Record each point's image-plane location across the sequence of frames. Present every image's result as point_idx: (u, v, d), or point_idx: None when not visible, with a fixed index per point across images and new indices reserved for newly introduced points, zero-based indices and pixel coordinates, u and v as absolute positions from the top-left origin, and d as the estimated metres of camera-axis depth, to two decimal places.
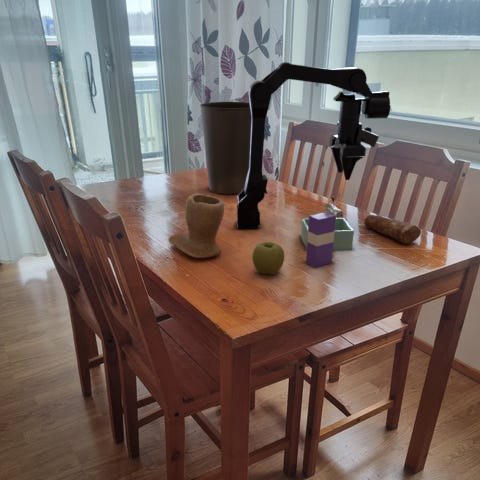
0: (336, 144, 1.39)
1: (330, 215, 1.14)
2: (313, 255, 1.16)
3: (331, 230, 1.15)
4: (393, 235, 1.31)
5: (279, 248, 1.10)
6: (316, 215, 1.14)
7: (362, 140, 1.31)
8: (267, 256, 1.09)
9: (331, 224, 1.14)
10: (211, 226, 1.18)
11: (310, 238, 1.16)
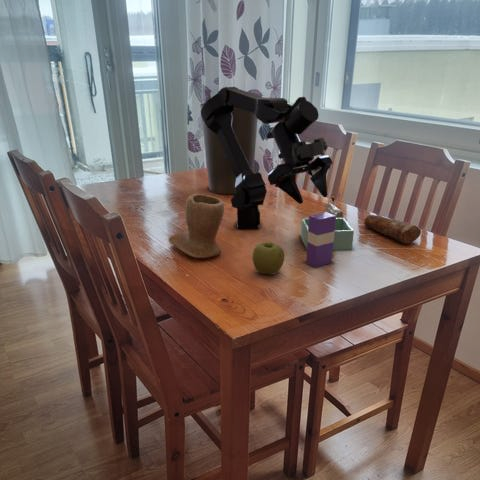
0: (311, 171, 1.25)
1: (330, 215, 1.14)
2: (313, 255, 1.16)
3: (331, 230, 1.15)
4: (393, 235, 1.31)
5: (279, 248, 1.10)
6: (316, 215, 1.14)
7: (300, 157, 1.17)
8: (267, 256, 1.09)
9: (331, 224, 1.14)
10: (211, 226, 1.18)
11: (310, 238, 1.16)
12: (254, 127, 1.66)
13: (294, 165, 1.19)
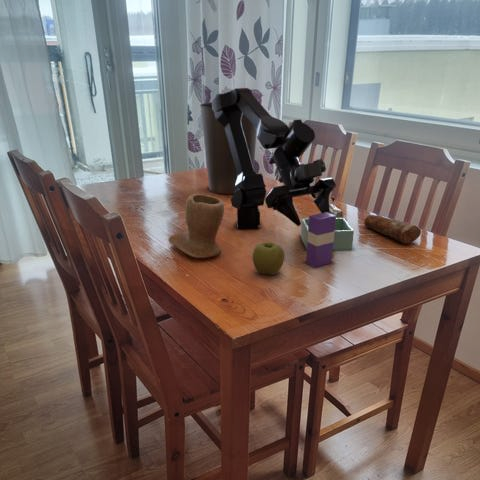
0: (315, 194, 1.22)
1: (330, 215, 1.14)
2: (313, 255, 1.16)
3: (331, 230, 1.15)
4: (393, 235, 1.31)
5: (279, 248, 1.10)
6: (316, 215, 1.14)
7: (297, 179, 1.14)
8: (267, 256, 1.09)
9: (331, 224, 1.14)
10: (211, 226, 1.18)
11: (310, 238, 1.16)
12: (254, 127, 1.66)
13: (293, 187, 1.16)
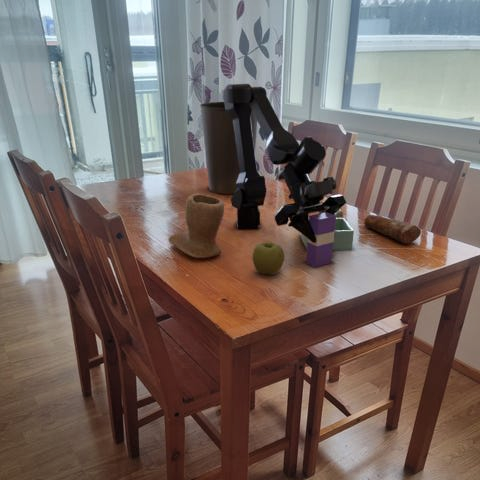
0: (319, 212, 1.20)
1: (330, 215, 1.14)
2: (314, 255, 1.16)
3: (331, 230, 1.15)
4: (393, 235, 1.31)
5: (279, 248, 1.10)
6: (316, 215, 1.14)
7: (307, 196, 1.13)
8: (267, 256, 1.09)
9: (331, 224, 1.14)
10: (211, 226, 1.18)
11: None
12: (254, 127, 1.66)
13: (303, 205, 1.15)
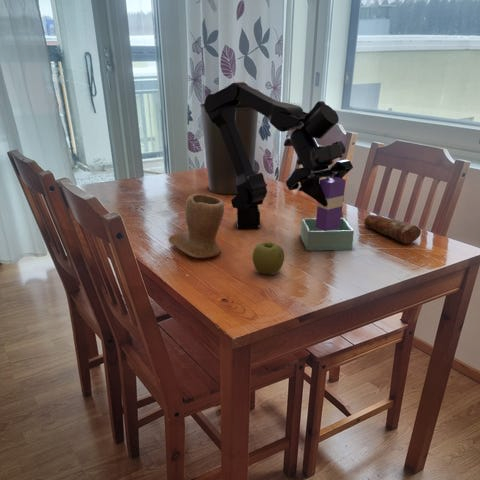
0: None
1: (340, 179, 1.17)
2: (324, 219, 1.19)
3: (341, 194, 1.18)
4: (393, 235, 1.31)
5: (279, 248, 1.10)
6: (326, 179, 1.16)
7: (318, 161, 1.15)
8: (267, 256, 1.09)
9: (341, 188, 1.17)
10: (211, 226, 1.18)
11: None
12: (254, 127, 1.66)
13: (313, 169, 1.17)
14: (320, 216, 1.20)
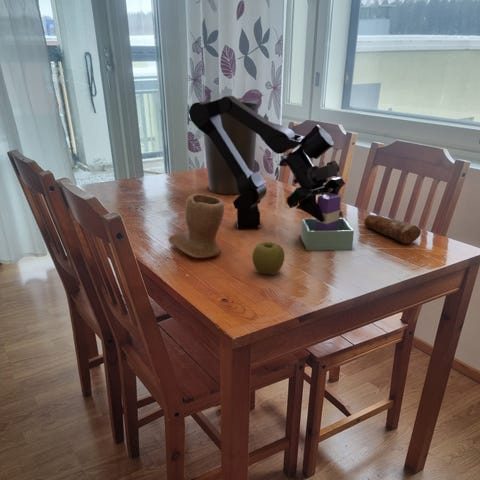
0: (323, 194, 1.32)
1: (336, 195, 1.26)
2: None
3: (337, 209, 1.27)
4: (393, 235, 1.31)
5: (279, 248, 1.10)
6: (324, 196, 1.25)
7: (315, 179, 1.24)
8: (267, 256, 1.09)
9: (337, 203, 1.26)
10: (211, 226, 1.18)
11: None
12: None
13: (310, 188, 1.26)
14: (319, 230, 1.29)
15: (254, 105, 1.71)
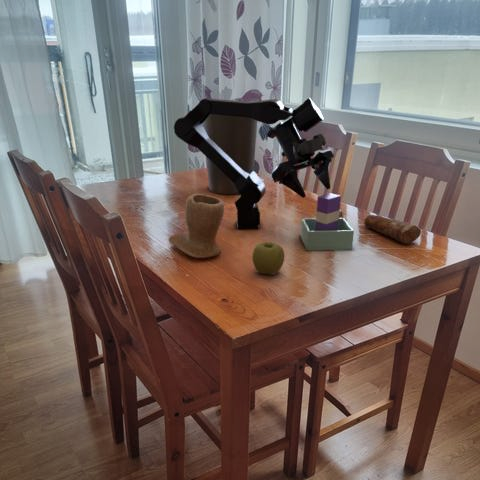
0: (315, 166, 1.33)
1: (336, 195, 1.26)
2: None
3: (337, 209, 1.27)
4: (393, 235, 1.31)
5: (279, 248, 1.10)
6: (323, 196, 1.25)
7: (300, 154, 1.24)
8: (267, 256, 1.09)
9: (337, 203, 1.26)
10: (211, 226, 1.18)
11: (319, 217, 1.27)
12: (254, 127, 1.66)
13: (296, 162, 1.26)
14: (319, 230, 1.29)
15: None
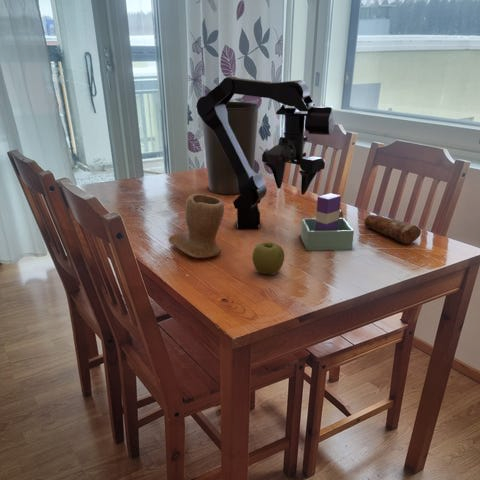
0: None
1: (336, 195, 1.26)
2: None
3: (337, 209, 1.27)
4: (393, 235, 1.31)
5: (279, 248, 1.10)
6: (323, 196, 1.25)
7: None
8: (267, 256, 1.09)
9: (337, 203, 1.26)
10: (211, 226, 1.18)
11: (319, 217, 1.27)
12: (254, 127, 1.66)
13: None
14: (319, 230, 1.29)
15: (254, 105, 1.71)
